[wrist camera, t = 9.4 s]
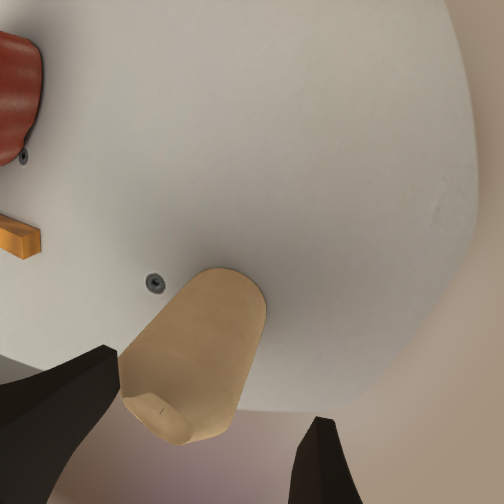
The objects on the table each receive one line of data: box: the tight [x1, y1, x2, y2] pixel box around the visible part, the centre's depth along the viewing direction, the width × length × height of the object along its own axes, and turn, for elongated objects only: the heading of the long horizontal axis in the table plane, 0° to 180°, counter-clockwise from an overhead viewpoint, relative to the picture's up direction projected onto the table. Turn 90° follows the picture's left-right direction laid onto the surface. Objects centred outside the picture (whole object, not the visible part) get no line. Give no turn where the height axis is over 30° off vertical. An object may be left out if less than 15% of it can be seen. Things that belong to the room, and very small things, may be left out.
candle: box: [118, 268, 266, 446], centre depth 15 cm, size 6×6×10 cm
